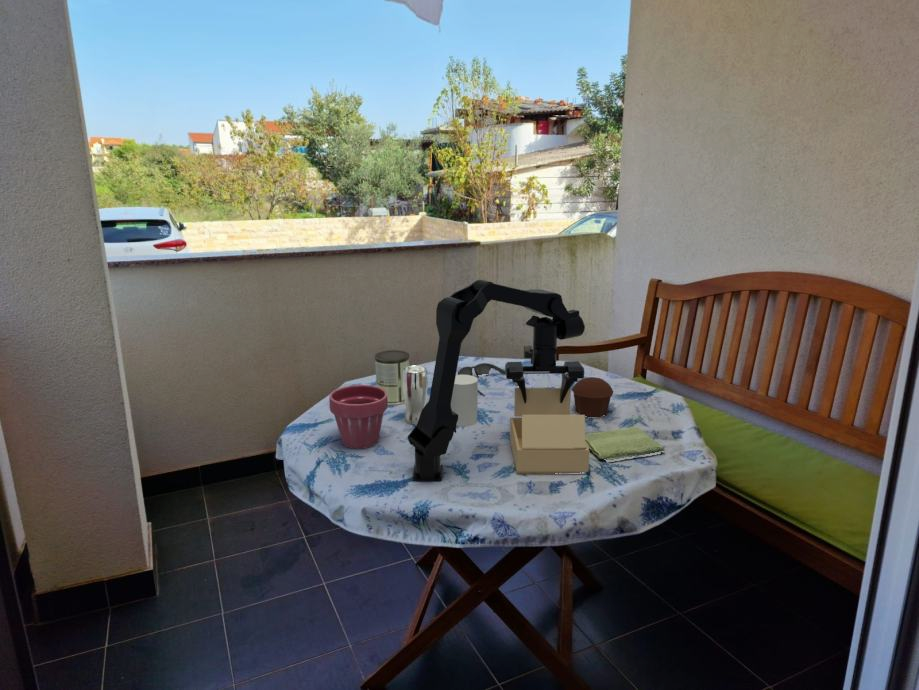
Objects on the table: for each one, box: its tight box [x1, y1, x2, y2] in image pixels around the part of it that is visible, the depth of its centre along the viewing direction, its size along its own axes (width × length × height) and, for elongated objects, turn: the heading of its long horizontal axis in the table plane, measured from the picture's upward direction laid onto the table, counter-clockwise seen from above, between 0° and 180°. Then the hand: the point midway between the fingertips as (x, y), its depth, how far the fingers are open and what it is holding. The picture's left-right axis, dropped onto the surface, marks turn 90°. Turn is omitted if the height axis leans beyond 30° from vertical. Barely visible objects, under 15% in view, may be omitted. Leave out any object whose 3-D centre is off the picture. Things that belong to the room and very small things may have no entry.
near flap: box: [521, 414, 586, 448], centre depth 123 cm, size 7×14×1 cm
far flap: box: [513, 387, 572, 418], centre depth 139 cm, size 7×14×1 cm
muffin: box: [571, 376, 614, 418], centre depth 158 cm, size 12×11×10 cm
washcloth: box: [585, 426, 666, 460], centre depth 137 cm, size 13×18×3 cm
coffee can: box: [374, 349, 410, 406], centre depth 167 cm, size 10×10×14 cm
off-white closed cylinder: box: [451, 374, 479, 427], centre depth 152 cm, size 8×8×12 cm
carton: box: [509, 417, 591, 475], centre depth 132 cm, size 18×16×6 cm
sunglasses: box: [457, 362, 518, 397], centre depth 181 cm, size 16×17×5 cm
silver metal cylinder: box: [402, 364, 429, 426], centre depth 151 cm, size 7×7×15 cm
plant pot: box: [329, 384, 389, 450], centre depth 139 cm, size 14×14×13 cm
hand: (543, 402), depth 138 cm, fingers closed on far flap, 8 cm apart
